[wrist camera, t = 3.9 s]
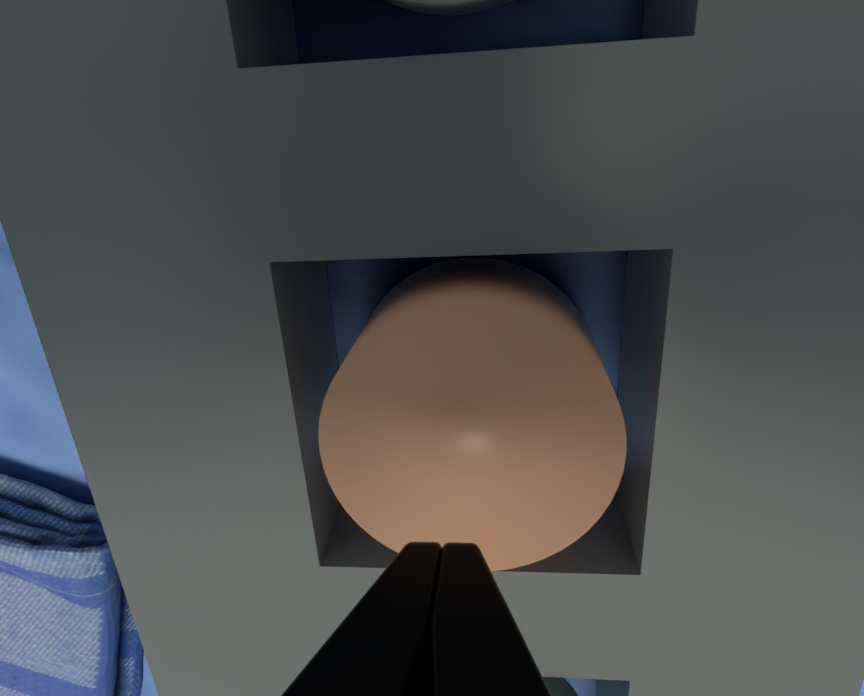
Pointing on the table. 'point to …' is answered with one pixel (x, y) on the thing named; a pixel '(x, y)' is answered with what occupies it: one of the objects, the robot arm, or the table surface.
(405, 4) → the cream button
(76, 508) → the dish towel
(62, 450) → the table surface
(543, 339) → the terracotta button
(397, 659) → the robot arm
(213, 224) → the button panel
